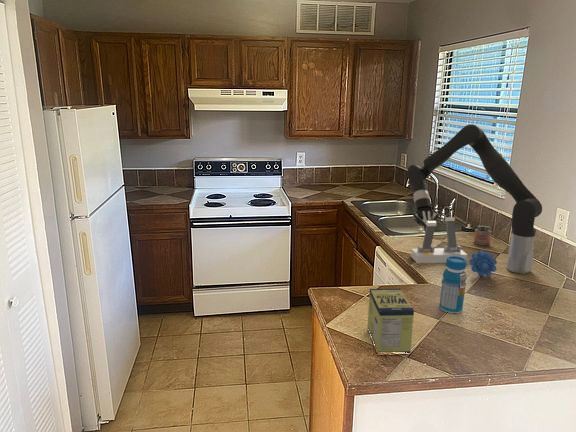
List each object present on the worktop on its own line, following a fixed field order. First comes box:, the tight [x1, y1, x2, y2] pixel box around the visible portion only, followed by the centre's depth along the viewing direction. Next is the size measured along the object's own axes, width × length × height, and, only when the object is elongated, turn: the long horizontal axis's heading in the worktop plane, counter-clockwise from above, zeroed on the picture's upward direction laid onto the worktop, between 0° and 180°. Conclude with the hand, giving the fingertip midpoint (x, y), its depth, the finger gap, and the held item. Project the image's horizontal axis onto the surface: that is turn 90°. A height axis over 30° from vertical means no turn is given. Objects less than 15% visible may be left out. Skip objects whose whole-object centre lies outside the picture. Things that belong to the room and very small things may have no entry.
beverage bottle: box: [438, 256, 468, 314], centre depth 158 cm, size 8×8×20 cm
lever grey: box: [444, 216, 458, 251], centre depth 208 cm, size 4×2×16 cm, turn 93°
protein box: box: [367, 288, 415, 354], centre depth 137 cm, size 10×16×16 cm
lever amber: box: [421, 220, 438, 252], centre depth 203 cm, size 4×2×16 cm, turn 93°
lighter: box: [472, 225, 493, 246], centre depth 228 cm, size 8×3×10 cm, turn 62°
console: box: [410, 244, 468, 264], centre depth 207 cm, size 24×9×7 cm, turn 93°
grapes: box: [468, 249, 498, 277], centre depth 187 cm, size 12×7×12 cm, turn 81°
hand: (428, 232), depth 203 cm, fingers closed
